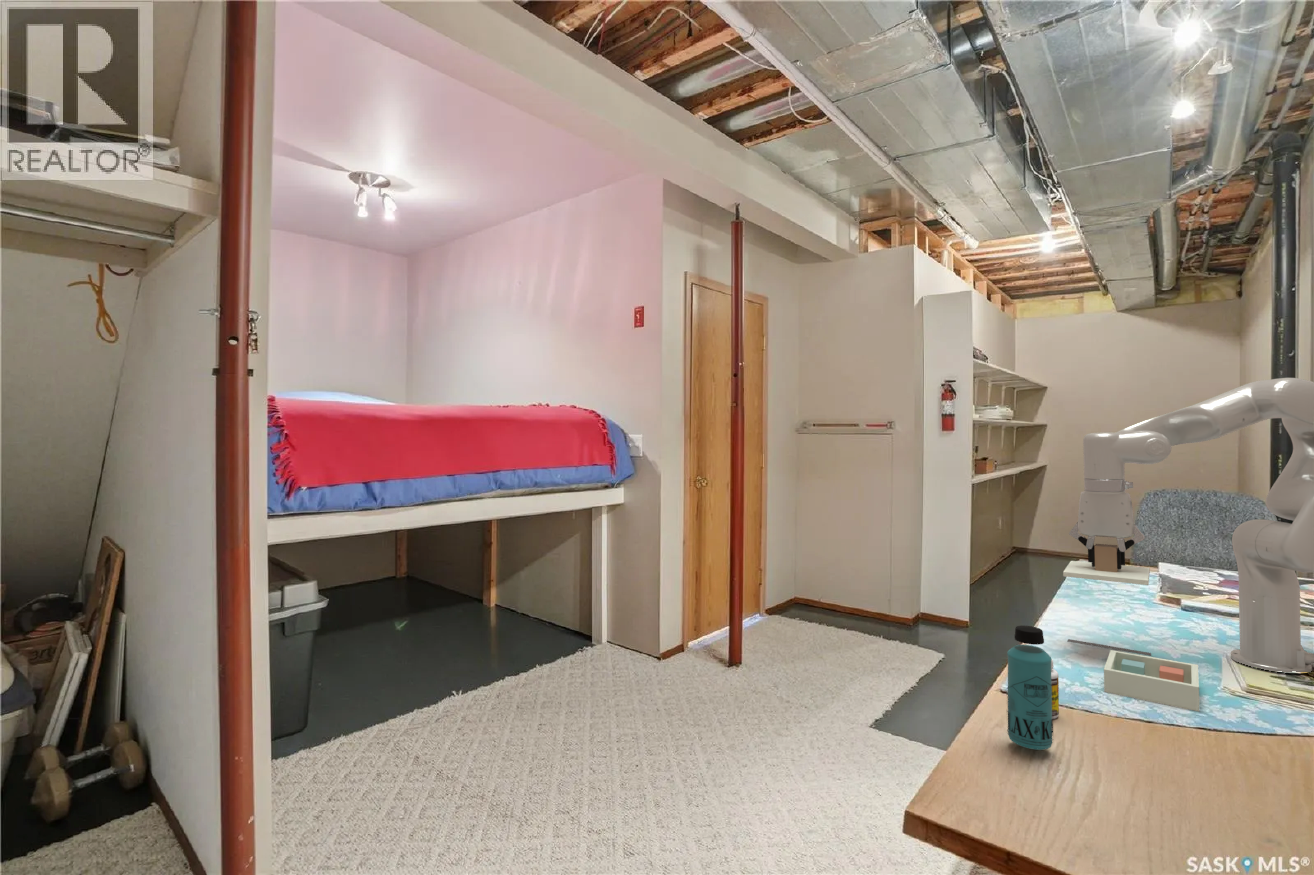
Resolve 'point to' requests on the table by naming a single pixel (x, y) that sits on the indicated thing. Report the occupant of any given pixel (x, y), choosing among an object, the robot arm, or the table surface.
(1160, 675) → the red block
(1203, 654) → the table surface
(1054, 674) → the supplement bottle
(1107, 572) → the lid
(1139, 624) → the table surface
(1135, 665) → the teal block
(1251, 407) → the robot arm
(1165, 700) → the box
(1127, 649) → the mat
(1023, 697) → the beverage bottle
